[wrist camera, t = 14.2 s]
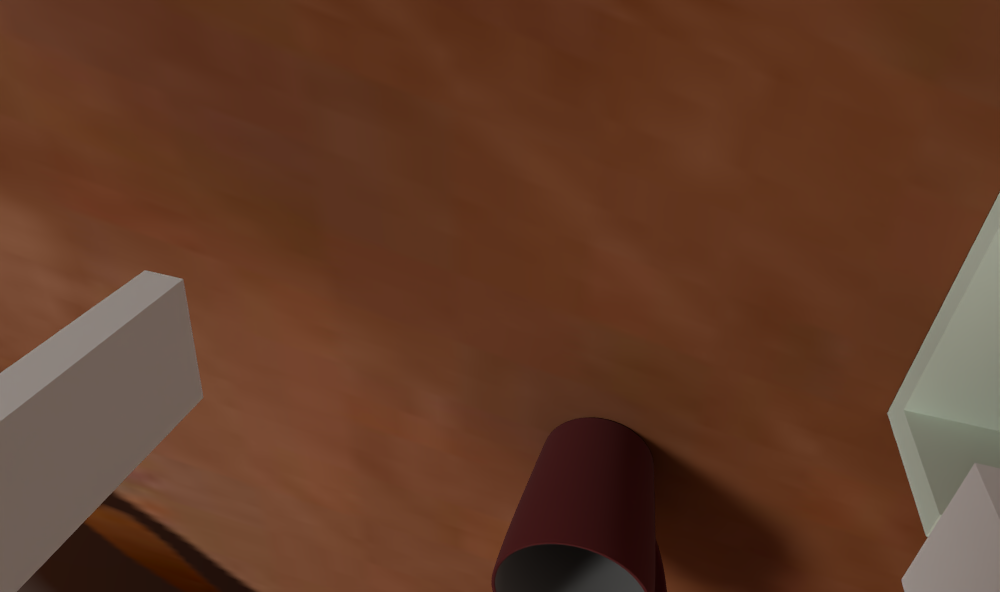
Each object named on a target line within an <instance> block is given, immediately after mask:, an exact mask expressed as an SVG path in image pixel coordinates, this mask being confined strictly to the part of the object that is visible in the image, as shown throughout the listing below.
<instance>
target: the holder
mask: <svg viewBox="0 0 1000 592" xmlns="http://www.w3.org/2000/svg"><path fill="white" fill-rule="evenodd" d="M887 414H888V417H889V420H890V423H891V426H892V429H893V433H894V436H895V439H896V442H897V445H898V449H899V452H900V455H901V458H902V461H903V464H904V468H905V471H906V474H907V477H908V480H909V483H910V487H911V490H912V493H913V496H914V499H915V503H916V506H917V509H918V512H919V515H920V518H921V522H922V525H923V528H924V531H925V534H926V536H927V537H929V535H930V533H931V532H932V530H933V529H934V527H935V525H936V524H937V522H938V521H939V519H940V517H941V516H942V514H943V513H944V511H945V510H946V508H947V506H948V505H949V503H950V502H951V500H952V498H953V497H954V495H955V494H956V492H957V490H958V489H959V487H960V486H961V484H962V482H963V481H964V479H965V478H966V476H967V474H968V473H969V471H970V470H971V468H972V467H973V465H974V463H978V464H983V465H987V466H991V467H996V468H1000V193H999V195H998V197H997V199H996V201H995V203H994V205H993V207H992V209H991V211H990V213H989V215H988V216H987V218H986V220H985V222H984V224H983V226H982V228H981V230H980V232H979V234H978V236H977V238H976V240H975V242H974V244H973V246H972V248H971V250H970V252H969V254H968V256H967V258H966V260H965V262H964V264H963V266H962V268H961V269H960V271H959V273H958V275H957V277H956V279H955V281H954V283H953V285H952V287H951V289H950V291H949V293H948V295H947V297H946V299H945V301H944V303H943V305H942V307H941V309H940V311H939V313H938V315H937V317H936V319H935V320H934V322H933V324H932V326H931V328H930V330H929V332H928V334H927V336H926V338H925V340H924V342H923V344H922V346H921V348H920V350H919V352H918V354H917V356H916V358H915V360H914V362H913V364H912V366H911V368H910V370H909V371H908V373H907V375H906V377H905V379H904V381H903V383H902V385H901V387H900V389H899V391H898V393H897V395H896V397H895V399H894V401H893V403H892V405H891V407H890V409H889V411H888V413H887Z"/></svg>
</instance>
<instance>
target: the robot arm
mask: <svg viewBox="0 0 1000 592" xmlns="http://www.w3.org/2000/svg"><path fill="white" fill-rule="evenodd" d="M202 398H203V393H202V387H201V381H200V376H199V370H198V364H197V358H196V352H195V346H194V340H193V334H192V328H191V323H190V317H189V311H188V305H187V299H186V293H185V287H184V281H183V279H180V278H176V277H172V276H168V275H163V274H159V273H155V272H150V271H146V270H145V271H143V272H142V273H141V274H139V275H138V276H136V277H135V278H134V279H132V280H131V281H129V282H128V283H127V284H125V285H124V286H122V287H121V288H119V289H118V290H117V291H115V292H114V293H112V294H111V295H110V296H108V297H107V298H105V299H104V300H103V301H101V302H100V303H98V304H97V305H96V306H94V307H93V308H91V309H90V310H89V311H87V312H86V313H84V314H83V315H82V316H80V317H79V318H77V319H76V320H74V321H73V322H72V323H70V324H69V325H67V326H66V327H65V328H63V329H62V330H60V331H59V332H58V333H56V334H55V335H53V336H52V337H51V338H49V339H48V340H46V341H45V342H44V343H42V344H41V345H39V346H38V347H36V348H35V349H34V350H32V351H31V352H29V353H28V354H27V355H25V356H24V357H22V358H21V359H20V360H18V361H17V362H15V363H14V364H13V365H11V366H10V367H8V368H7V369H6V370H4V371H3V372H1V373H0V592H17V591H18V590H19V589H20V588H21V587H22V586H23V585H24V583H25V582H26V581H27V580H28V579H29V578H30V577H31V576H32V575H33V574H34V573H35V572H36V571H37V570H38V569H39V568H40V567H41V566H42V565H43V564H44V563H45V562H46V561H47V559H48V558H49V557H50V556H51V555H52V554H53V553H54V552H55V551H56V550H57V549H58V548H59V547H60V546H61V545H62V544H63V543H64V542H65V541H66V540H67V539H68V538H69V537H70V536H71V535H72V534H73V532H74V531H75V530H76V529H77V528H78V527H79V526H80V525H81V524H82V523H83V522H84V521H85V520H86V519H87V518H88V517H89V516H90V515H91V514H92V513H93V512H94V511H95V510H96V509H97V508H98V506H99V505H100V504H101V503H102V502H103V501H104V500H105V499H106V498H107V497H108V496H109V495H110V494H111V493H112V492H113V491H114V490H115V489H116V488H117V487H118V486H119V485H120V484H121V483H122V482H123V480H124V479H125V478H126V477H127V476H128V475H129V474H130V473H131V472H132V471H133V470H134V469H135V468H136V467H137V466H138V465H139V464H140V463H141V462H142V461H143V460H144V459H145V458H146V457H147V456H148V454H149V453H150V452H151V451H152V450H153V449H154V448H155V447H156V446H157V445H158V444H159V443H160V442H161V441H162V440H163V439H164V438H165V437H166V436H167V435H168V434H169V433H170V432H171V431H172V430H173V428H174V427H175V426H176V425H177V424H178V423H179V422H180V421H181V420H182V419H183V418H184V417H185V416H186V415H187V414H188V413H189V412H190V411H191V410H192V409H193V408H194V407H195V406H196V405H197V404H198V402H199V401H200V400H201V399H202ZM902 584H903V588H904V592H1000V468H996V467H991V466H987V465H983V464H978V463H974V465H973V467H972V468H971V470H970V471H969V473H968V474H967V476H966V478H965V479H964V481H963V482H962V484H961V486H960V487H959V489H958V490H957V492H956V494H955V495H954V497H953V498H952V500H951V502H950V503H949V505H948V506H947V508H946V510H945V511H944V513H943V514H942V516H941V517H940V519H939V521H938V522H937V524H936V525H935V527H934V529H933V530H932V532H931V533H930V535H929V537H928V538H927V540H926V541H925V543H924V545H923V546H922V548H921V549H920V551H919V552H918V554H917V556H916V557H915V559H914V560H913V562H912V564H911V565H910V567H909V568H908V570H907V572H906V573H905V575H904V576H903V578H902Z"/></svg>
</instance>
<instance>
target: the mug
mask: <svg viewBox="0 0 1000 592" xmlns="http://www.w3.org/2000/svg"><path fill="white" fill-rule="evenodd" d="M492 590H493V592H667V589H666V581H665V574H664V569H663V564H662V559H661V555H660V551H659V548H658V545H657V541H656V538H655V492H654V464H653V458H652V455H651V452H650V450H649V448H648V447H647V445H646V444H645V442H644V441H643V440H642V439H641V438H640V437H639V436H638V435H637V434H635V433H634V432H633V431H631V430H630V429H628V428H627V427H625V426H623V425H621V424H618V423H616V422H613V421H610V420H606V419H600V418H579V419H574V420H571V421H568V422H565V423H563V424H561V425H560V426H558V427H557V428H556V429H554V430H553V431H552V432H551V434H550V435H549V436H548V438H547V440H546V442H545V444H544V446H543V448H542V451H541V453H540V455H539V458H538V460H537V462H536V465H535V467H534V469H533V472H532V474H531V476H530V479H529V481H528V483H527V486H526V488H525V490H524V493H523V495H522V497H521V500H520V502H519V504H518V507H517V509H516V512H515V514H514V516H513V519H512V521H511V524H510V526H509V529H508V531H507V534H506V536H505V539H504V542H503V545H502V547H501V550H500V553H499V556H498V558H497V561H496V564H495V567H494V571H493V575H492Z"/></svg>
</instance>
